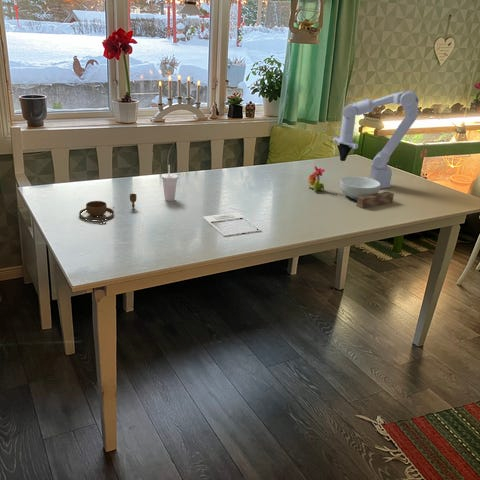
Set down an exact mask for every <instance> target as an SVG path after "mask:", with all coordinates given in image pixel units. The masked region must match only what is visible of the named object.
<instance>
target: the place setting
mask: <svg viewBox="0 0 480 480" xmlns="http://www.w3.org/2000/svg"><path fill="white" fill-rule="evenodd" d="M129 201H130V203H131V209H132V208H133V210H135V209H134V208H135V202H137V194H136V193H130V194H129ZM85 210H87V212H86V213H87V214H88V215H89V216H91V217H86V216H83V215H81V213H82V212H83V211H85ZM106 211H109V212H111V213H112V215H111V213H110V215H107V216H104V215H105V214H106V213H107V212H106ZM109 212H108V213H109ZM78 215H79V217H80V218H81V217H82V218H84V219H87V220H105V219H108V220H110V219H112V218H113V217H114V215H115V211H114V209H113V208H110V207H108V206H107V202H105V201H101V200H94V201H88V202H86V204H85V208H83V209H81V210H80V211H79V213H78ZM102 215H103V216H104V217H103V216H102ZM92 216H95V217H92ZM97 216H101V217H97ZM82 218H81V219H82ZM84 219H83V220H84ZM87 220H86V221H87ZM105 221H106V220H105Z"/></svg>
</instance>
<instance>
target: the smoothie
mask: <svg viewBox="0 0 480 480" xmlns="http://www.w3.org/2000/svg"><path fill="white" fill-rule="evenodd" d="M167 168H168V170H167V171H168V172H167V173H164V174H162V175H161V180H162V185H163V194H164V200H165V201H167V202H173V201H175V198H176V191H177V186H178V185H177V183H178V180H179V176H178V174H175V173H171V165H170V164H168V167H167Z"/></svg>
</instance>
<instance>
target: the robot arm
mask: <svg viewBox="0 0 480 480" xmlns="http://www.w3.org/2000/svg"><path fill="white" fill-rule="evenodd" d="M388 104H394V105H401V107H402V109H403V112H404V117H403V119H402V120H401V121H400V124H399V125H398V126H397V128H396V129H395V131H394V132H393V134H392V135H391V136H390V137H389V139H388V141H387V142H386V144H385V145H384V147H383V148H382V149H381V150H380V151H378V152H377V153H376V155H375V156H374V158H373V159H372V165H371V170H370V175H369V178H370V179H374V180H376V181H378V182H379V183H380V189H387V188H391V187H392V186H391V180H392V175H393V172H392V171H393V170H392V168H391V167H389V166H388V162H389V161H390V157H391V156H392V154H393V152H395V150H396V148H397V147H398V145H399V144H400V143H401V141H402V140H403V139H404V137H405V135H406V134H407V133H408V131H409V130H410V128H411V127H412V125H413V124H414V123H415V122H416V120H417V118H418V116H419V97H418V95H417V93H416V92H415V91H414V90H412V89H410V90H409V89H408V90H406V91H399V92H393V93H392V94H388V95H385V96H383V97H380V98H377V99H373V100H372V99H370V98H367V97H365V98H363V99H362V100H360V101H357V102H356V101H353V102H352V103H350V104H348V105H346V106H345V107H343V109H342V115H343V116H342V121H341V127H340V134H339V137H333V139H332V142H333V143H337V144H338V145H337V150H338V153H339V160H340V161H341V162H345V161H346V159H347V158H348V155H349V153H351V150H352V149H353V150H357V149H358V148H359V144H358V143H356V142H354V141H353V137H354V133H355V131H354V130H355V124H356V122H355V121H356V116H361V115H365V114H368V113H371V112H373V111H374V109H375V108H378V107H381V106H385V105H388ZM380 189H379V190H380Z"/></svg>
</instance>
